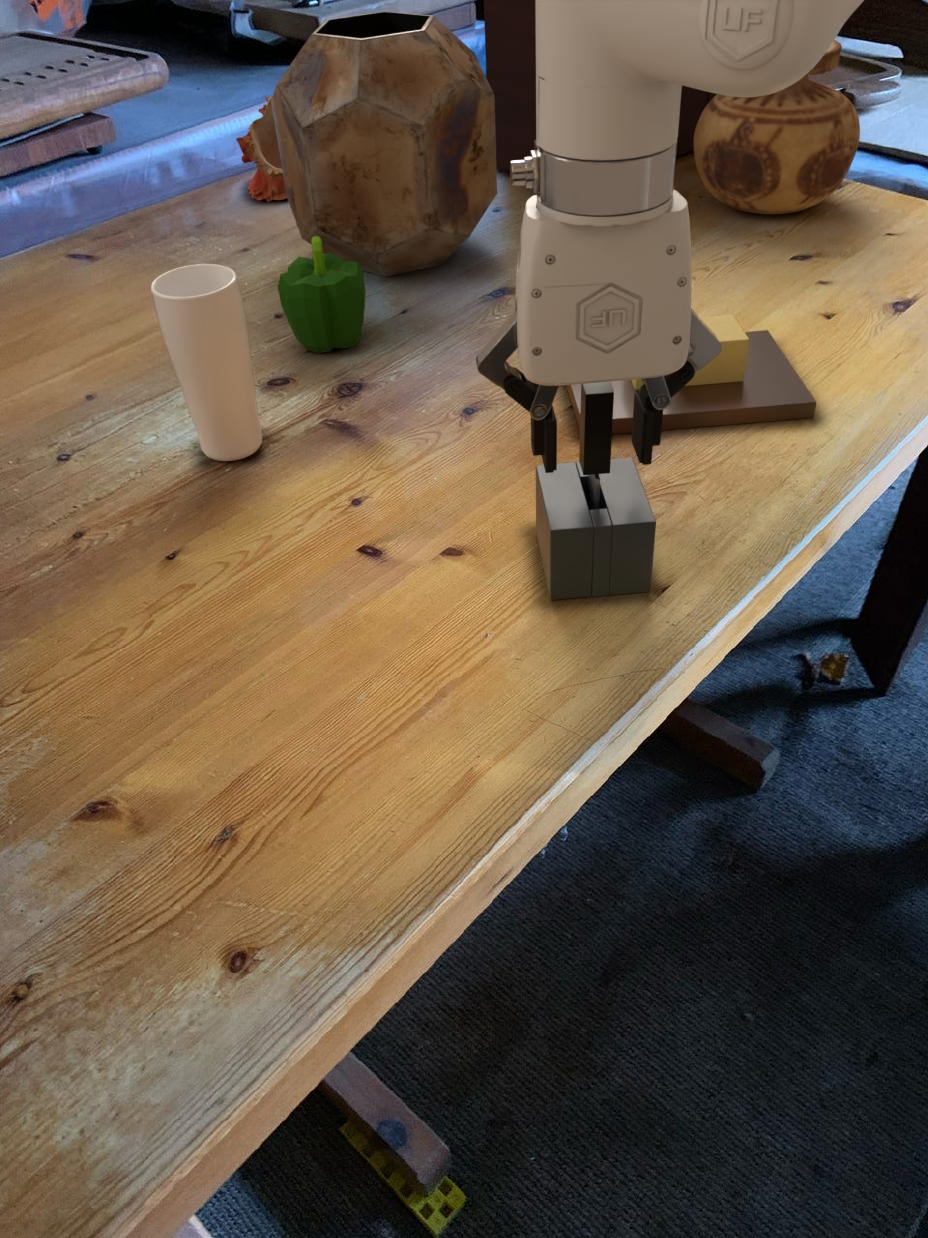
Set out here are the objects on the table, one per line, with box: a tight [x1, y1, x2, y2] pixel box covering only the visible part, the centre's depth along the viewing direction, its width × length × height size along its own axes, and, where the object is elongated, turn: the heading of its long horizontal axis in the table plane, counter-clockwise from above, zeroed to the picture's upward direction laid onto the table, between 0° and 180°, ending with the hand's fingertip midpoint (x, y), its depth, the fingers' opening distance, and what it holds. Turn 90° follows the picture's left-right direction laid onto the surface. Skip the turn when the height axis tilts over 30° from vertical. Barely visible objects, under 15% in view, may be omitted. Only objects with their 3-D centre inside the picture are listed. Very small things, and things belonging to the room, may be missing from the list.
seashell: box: [235, 94, 288, 203], centre depth 137 cm, size 17×11×15 cm
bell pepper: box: [277, 236, 366, 354], centre depth 99 cm, size 8×8×10 cm
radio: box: [483, 0, 717, 173], centre depth 130 cm, size 19×27×35 cm
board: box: [565, 329, 817, 435], centre depth 91 cm, size 20×14×2 cm
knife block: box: [535, 456, 657, 601], centre depth 71 cm, size 7×8×6 cm
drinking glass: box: [150, 263, 263, 462], centre depth 82 cm, size 7×7×15 cm
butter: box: [675, 314, 749, 386], centre depth 89 cm, size 6×5×4 cm
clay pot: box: [693, 39, 861, 215], centre depth 118 cm, size 19×19×20 cm
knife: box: [578, 382, 614, 511], centre depth 68 cm, size 2×3×14 cm, turn 4°
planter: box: [271, 10, 498, 278], centre depth 111 cm, size 22×24×24 cm
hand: (594, 455), depth 67 cm, fingers open, 5 cm apart
